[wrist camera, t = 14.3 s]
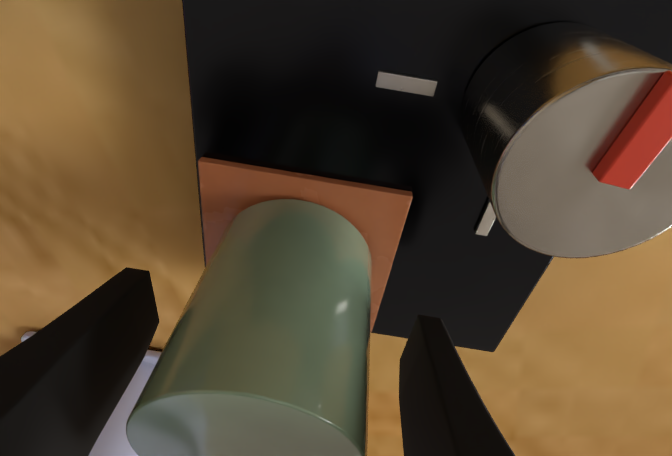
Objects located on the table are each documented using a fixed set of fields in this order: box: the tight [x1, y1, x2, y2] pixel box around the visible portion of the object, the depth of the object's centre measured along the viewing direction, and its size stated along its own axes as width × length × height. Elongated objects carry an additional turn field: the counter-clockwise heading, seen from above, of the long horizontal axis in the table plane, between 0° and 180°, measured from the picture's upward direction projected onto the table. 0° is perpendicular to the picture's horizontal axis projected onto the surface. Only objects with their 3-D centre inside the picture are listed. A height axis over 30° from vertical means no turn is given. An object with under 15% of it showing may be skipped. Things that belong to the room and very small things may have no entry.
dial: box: [461, 22, 672, 258], centre depth 8 cm, size 4×4×4 cm
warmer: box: [182, 0, 672, 352], centre depth 12 cm, size 12×13×3 cm
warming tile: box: [198, 157, 413, 332], centre depth 13 cm, size 6×6×1 cm
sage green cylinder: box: [126, 199, 372, 456], centre depth 10 cm, size 5×5×6 cm
